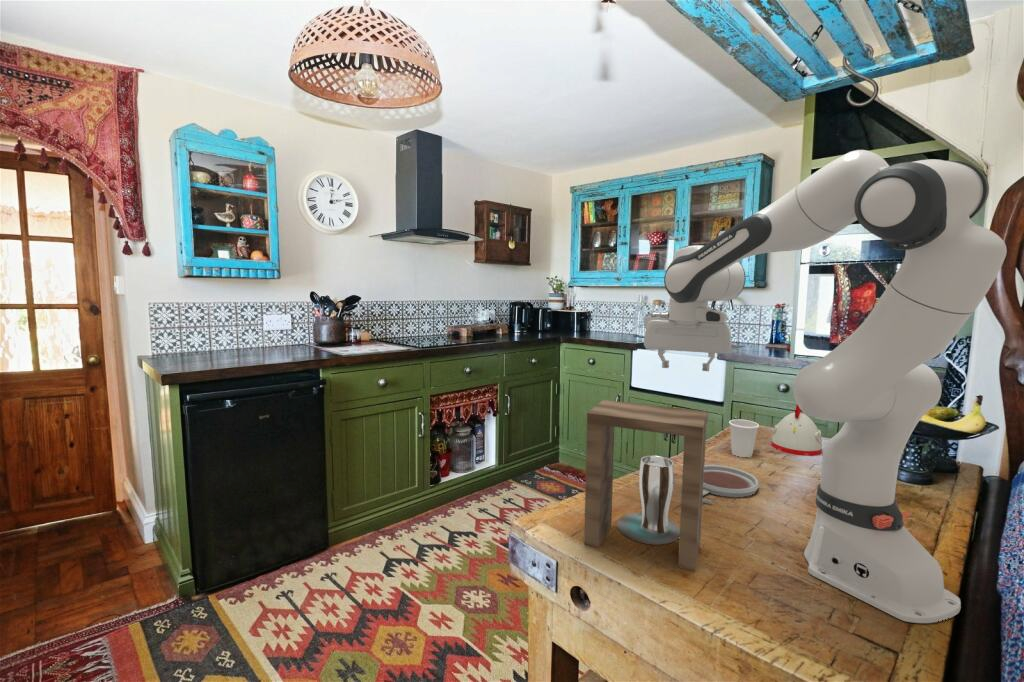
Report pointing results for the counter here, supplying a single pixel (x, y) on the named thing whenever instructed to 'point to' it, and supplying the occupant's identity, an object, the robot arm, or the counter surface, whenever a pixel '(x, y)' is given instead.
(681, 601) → the counter surface
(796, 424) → the kitchen timer
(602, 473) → the shelf bridge
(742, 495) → the frying pan
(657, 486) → the beer glass
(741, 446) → the dixie cup
